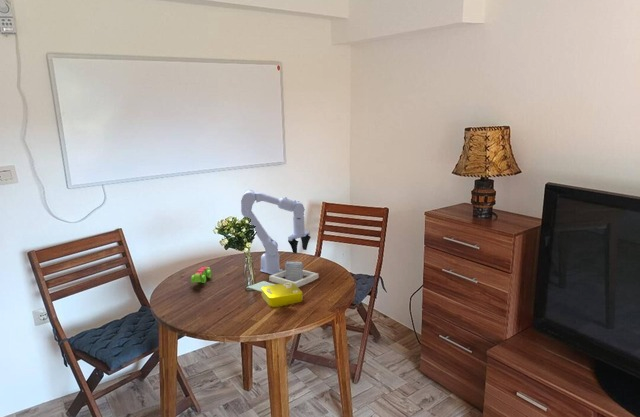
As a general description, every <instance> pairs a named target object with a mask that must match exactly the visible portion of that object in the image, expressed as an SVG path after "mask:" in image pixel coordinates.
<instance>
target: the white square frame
mask: <svg viewBox="0 0 640 417" xmlns="http://www.w3.org/2000/svg"><path fill="white" fill-rule="evenodd" d="M304 276H305V277H304ZM268 277H269V281H268V282H270V283H274V284H283V283H289V282H291V283H293V284H294V285H296V286H297V287H298V288H300V287H303V286H305V285H307V284H309V283H312V282H314V281H315V280H318V279H319V273H318V272H317V273H316V272H314V271H313V272H312V271H310V270H305V269H303V279H301V280H298V281H290V280H287V279H285V269H284V270H283V271H281V272H278V273H275V274H270V275H269V276H268Z"/></svg>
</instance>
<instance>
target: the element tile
mask: <svg viewBox="0 0 640 417" xmlns="http://www.w3.org/2000/svg"><path fill="white" fill-rule="evenodd" d="M261 290H262V292H261V297H262V298H263V301H265V302H266V304H267V305H268V306H269V307H271V308H277V307H283V306H289V305H291V304H292V305H293V304H297V303H301V302H303V291H302V290H301V289H300V287H297V286H296V285H294V284H293V283H291V282H289V283H283V284H278V283H275V285H270V286H264V287H262V288H261Z"/></svg>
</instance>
